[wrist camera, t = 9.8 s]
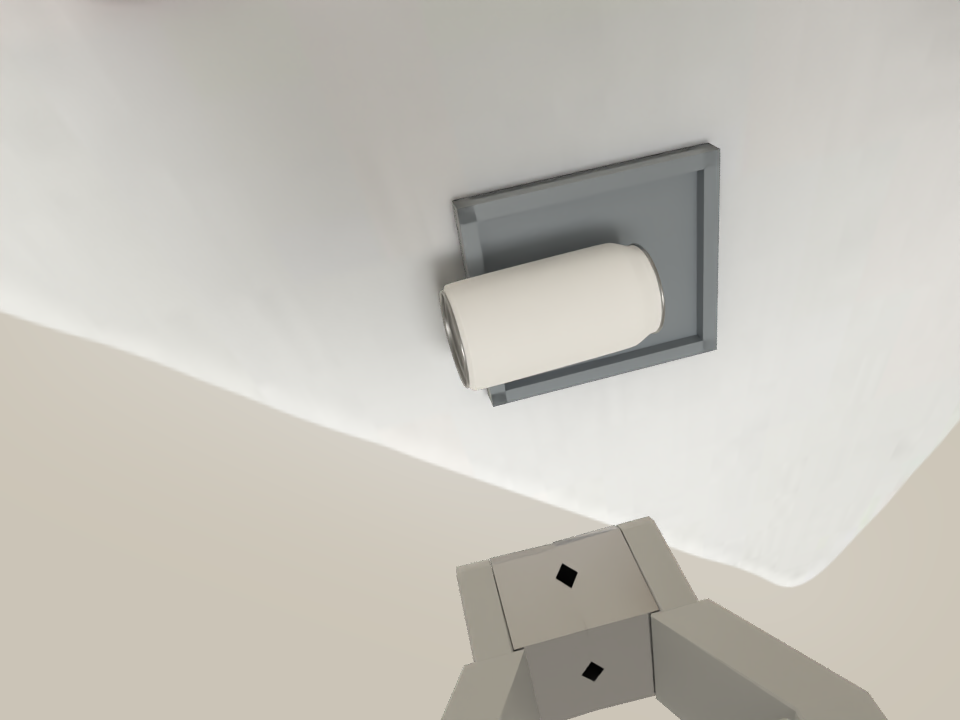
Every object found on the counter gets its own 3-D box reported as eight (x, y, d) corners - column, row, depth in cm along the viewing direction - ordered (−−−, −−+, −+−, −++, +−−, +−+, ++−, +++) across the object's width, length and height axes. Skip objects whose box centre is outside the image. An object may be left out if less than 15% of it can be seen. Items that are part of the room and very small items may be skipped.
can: (463, 398, 45) (643, 347, 46) (472, 387, 38) (680, 329, 40) (435, 299, 46) (613, 253, 47) (440, 273, 39) (645, 220, 41)
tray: (708, 142, 44) (720, 148, 43) (706, 339, 51) (716, 349, 50) (452, 201, 42) (456, 209, 41) (488, 394, 50) (493, 406, 48)
